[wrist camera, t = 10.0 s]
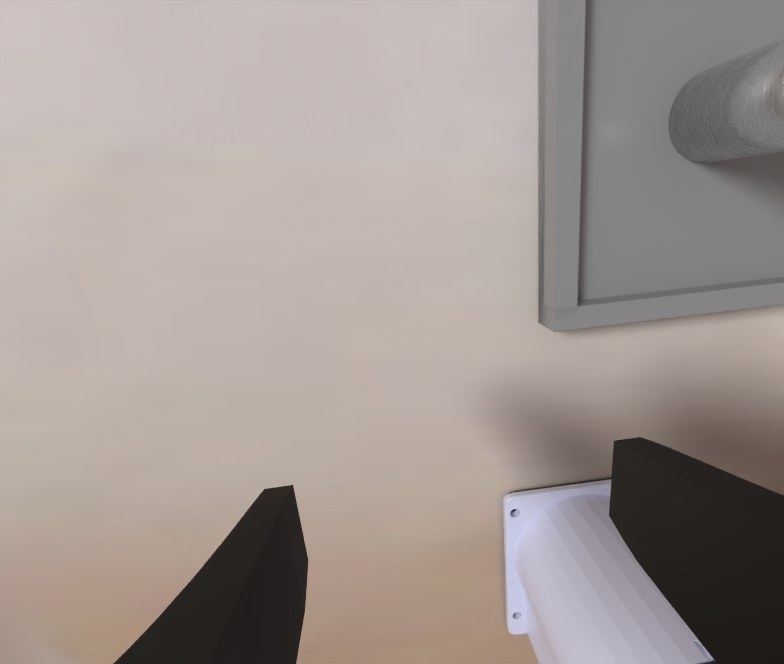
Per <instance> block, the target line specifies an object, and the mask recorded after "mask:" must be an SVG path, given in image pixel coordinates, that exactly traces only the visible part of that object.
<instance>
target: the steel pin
mask: <svg viewBox="0 0 784 664" xmlns="http://www.w3.org/2000/svg"><path fill="white" fill-rule="evenodd" d="M668 128H669V135H670V139H671V142H672V145H673V146H674V148H675V150H676V151H677V152H678V153H679V154H680V155H681V156H682V157H683V158H685V159H686V160H689V161H691V162H695V163H709V162H716V161H723V160H729V159H736V158H743V157H750V156H757V155H764V154H771V153H778V152H784V38H781V39H779V40H776V41H774V42H772V43H769V44H767V45H764V46H762V47H760V48H757V49H755V50H752V51H750V52H748V53H745V54H743V55H740V56H738V57H736V58H733V59H731V60H728V61H726V62H724V63H721V64H719V65H716V66H714V67H712V68H709V69H707V70H704V71H702V72H700V73H698V74H697V75H695V76H694V77H692V78H691V79H690V80H689V81H688V82H687V83H686V84H685V85H684V86H683V87H682V88H681V90H680V91H679V93H678V94H677V96H676V98H675V100H674V102H673V104H672V107H671V110H670V115H669V124H668Z"/></svg>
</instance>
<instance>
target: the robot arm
mask: <svg viewBox="0 0 784 664" xmlns="http://www.w3.org/2000/svg"><path fill="white" fill-rule="evenodd" d="M514 509H517V510H516V511H514V512H511V511H512V510H514ZM503 514H504V549H505V584H506V620H507V627H508V630H509V632H510V633H511V634H514V635H518V634H525V633H527V634H528V637H529V639H530V642H531V644H532V647H533V649H534V652H535V654H536V657H537V659H538V662H539V664H784V496H783V495H781V494H778V493H776V492H773V491H771V490H768V489H766V488H763V487H761V486H759V485H756V484H754V483H751V482H749V481H747V480H744V479H742V478H739V477H737V476H735V475H732V474H730V473H728V472H725V471H723V470H721V469H718V468H716V467H713V466H711V465H709V464H706V463H704V462H702V461H699V460H697V459H695V458H692V457H690V456H688V455H685V454H683V453H680V452H678V451H676V450H673V449H671V448H668V447H666V446H663V445H661V444H658V443H655V442H653V441H650V440H647V439H644V438H641V437H638V438H631V439H624V440H617V441H614V450H613V464H612V478H611V479H610V480H603V481H595V482H588V483H580V484H573V485H566V486H558V487H551V488H543V489H536V490H529V491H521V492H514V493H510V494H508V495H506V496H505V498H504V500H503ZM307 570H308V557H307V552H306V547H305V542H304V537H303V532H302V527H301V522H300V518H299V513H298V508H297V503H296V498H295V493H294V488H293V485H290V486H283V487H276V488H269V489H264V490H263V492H262V493H261V494H260V495H259V497H258V498H257V499H256V500H255V501H254V503H253V504H252V505H251V507H250V508H249V509H248V510H247V512H246V513H245V514H244V516H243V517H242V518H241V519H240V521H239V522H238V523H237V525H236V526H235V527H234V528H233V530H232V531H231V532H230V534H229V535H228V536H227V537H226V539H225V540H224V541H223V542H222V544H221V545H220V546H219V547H218V548H217V550H216V551H215V552H214V553H213V555H212V556H211V557H210V558H209V559H208V561H207V562H206V563H205V564H204V566H203V567H202V568H201V569H200V571H199V572H198V573H197V574H196V575H195V576H194V578H193V579H192V580H191V581H190V582H189V583H188V585H187V586H186V587H185V588H184V589H183V590H182V591H181V592H180V594H179V595H178V596H177V597H176V598H175V599H174V600H173V602H172V603H171V604H170V605H169V606H168V607H167V608H166V609H165V611H164V612H163V613H162V614H161V615H160V616H159V617H158V618H157V620H156V621H155V622H154V623H153V624H152V625H151V626H150V627H149V628H148V629H147V630H146V631H145V632H144V633H143V634H142V635H141V636H140V638H139V639H138V640H137V641H136V642H135V643H134V644H133V645H132V646H131V647H130V648H129V649H128V650H127V651H126V652H125V653H124V654H123V655H122V656H121V657H120V658H119V659H118V660H117V661H116V662H115V663H114V664H296V660H297V654H298V648H299V643H300V637H301V631H302V625H303V619H304V613H305V601H306V587H307Z"/></svg>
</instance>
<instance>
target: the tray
mask: <svg viewBox="0 0 784 664" xmlns="http://www.w3.org/2000/svg"><path fill="white" fill-rule="evenodd" d="M781 38H784V0H539V323H540V324H542V325H544V326H545V327H547V328H548V329H550V330H552V331H553V332H557V331H565V330H574V329H582V328H590V327H599V326H607V325H616V324H624V323H632V322H641V321H649V320H658V319H666V318H674V317H683V316H691V315H700V314H708V313H716V312H725V311H733V310H742V309H750V308H758V307H767V306H775V305H784V152H778V153H771V154H764V155H757V156H750V157H743V158H736V159H729V160H723V161H716V162H709V163H695V162H691V161H689V160H686V159H685V158H683V157H682V156H681V155H680V154H679V153H678V152H677V151H676V150H675V148H674V146H673V145H672V142H671V139H670V135H669V128H668V124H669V115H670V110H671V107H672V104H673V102H674V100H675V98H676V96H677V94H678V93H679V91H680V90H681V88H682V87H683V86H684V85H685V84H686V83H687V82H688V81H689V80H690V79H691V78H692V77H694V76H695V75H697V74H698V73H700V72H702V71H704V70H707V69H709V68H712V67H714V66H716V65H719V64H721V63H724V62H726V61H728V60H731V59H733V58H736V57H738V56H740V55H743V54H745V53H748V52H750V51H752V50H755V49H757V48H760V47H762V46H764V45H767V44H769V43H772V42H774V41H776V40H779V39H781Z"/></svg>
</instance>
